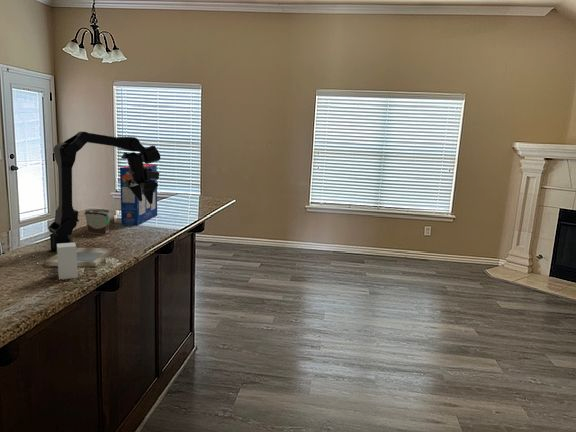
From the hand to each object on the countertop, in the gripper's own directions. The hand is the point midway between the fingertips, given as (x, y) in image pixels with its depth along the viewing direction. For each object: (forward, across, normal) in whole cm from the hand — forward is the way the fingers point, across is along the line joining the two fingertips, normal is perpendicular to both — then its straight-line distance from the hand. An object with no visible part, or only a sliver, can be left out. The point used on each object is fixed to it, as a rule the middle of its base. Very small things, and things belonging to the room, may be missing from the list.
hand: (146, 202), depth 179 cm
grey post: (+5, -33, +45) cm, 55 cm away
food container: (+12, +20, +15) cm, 28 cm away
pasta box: (+19, +37, -11) cm, 43 cm away
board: (+7, -16, +35) cm, 39 cm away
